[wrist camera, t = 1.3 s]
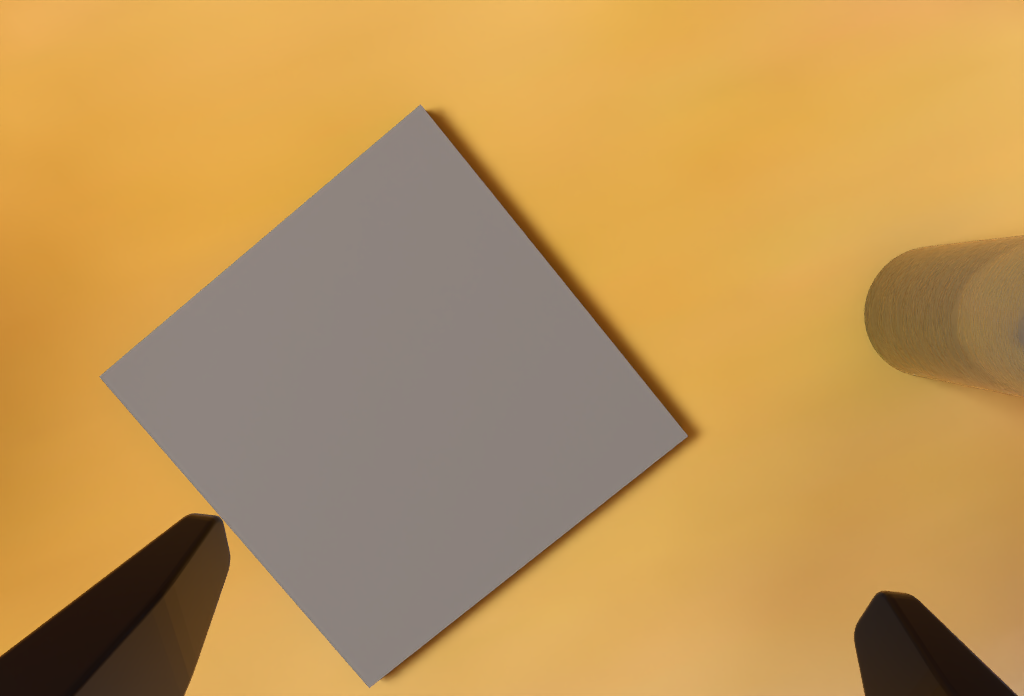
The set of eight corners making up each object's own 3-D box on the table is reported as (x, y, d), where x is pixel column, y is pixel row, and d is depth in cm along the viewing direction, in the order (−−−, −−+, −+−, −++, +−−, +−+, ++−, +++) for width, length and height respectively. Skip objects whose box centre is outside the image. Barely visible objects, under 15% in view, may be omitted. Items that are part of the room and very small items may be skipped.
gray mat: (683, 432, 23) (688, 436, 22) (372, 678, 24) (369, 688, 23) (423, 109, 22) (420, 104, 22) (110, 374, 23) (99, 376, 22)
